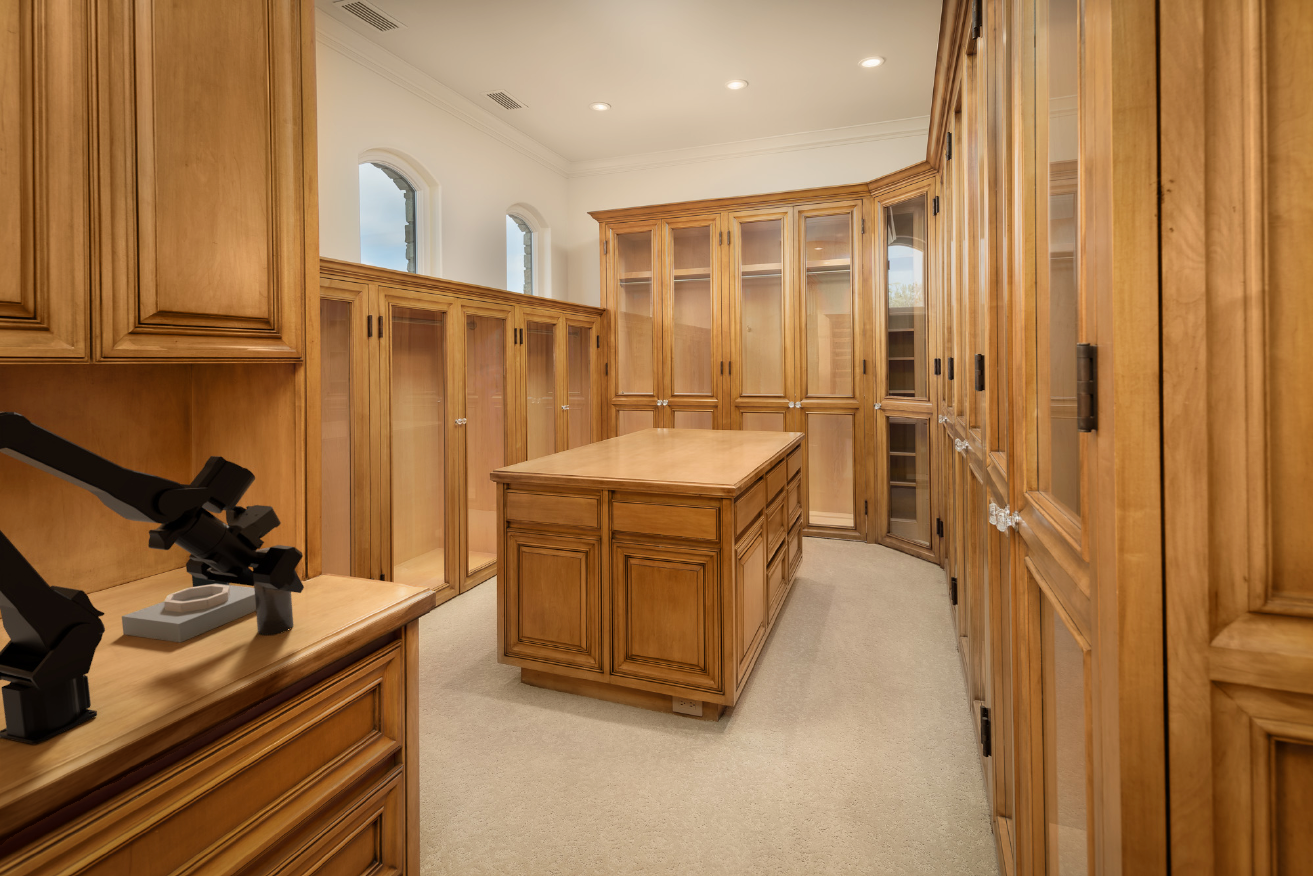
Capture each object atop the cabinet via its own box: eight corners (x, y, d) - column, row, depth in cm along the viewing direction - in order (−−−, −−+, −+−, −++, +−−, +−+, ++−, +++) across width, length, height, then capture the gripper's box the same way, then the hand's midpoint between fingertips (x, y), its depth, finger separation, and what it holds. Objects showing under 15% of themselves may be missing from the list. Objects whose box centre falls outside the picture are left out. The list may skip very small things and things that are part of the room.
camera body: (180, 642, 99) (177, 614, 98) (123, 634, 102) (120, 607, 101) (268, 605, 114) (266, 581, 113) (216, 599, 117) (214, 575, 117)
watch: (235, 577, 130) (230, 524, 129) (224, 589, 122) (219, 533, 121) (202, 580, 128) (197, 527, 127) (189, 593, 120) (184, 536, 119)
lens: (275, 636, 101) (269, 556, 99) (250, 633, 102) (243, 554, 100) (300, 624, 105) (295, 547, 104) (276, 621, 107) (270, 545, 105)
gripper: (287, 495, 94) (350, 548, 106) (199, 488, 101) (267, 539, 112) (241, 562, 88) (313, 611, 99) (149, 550, 94) (228, 597, 106)
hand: (280, 586), depth 104 cm, fingers open, 9 cm apart
